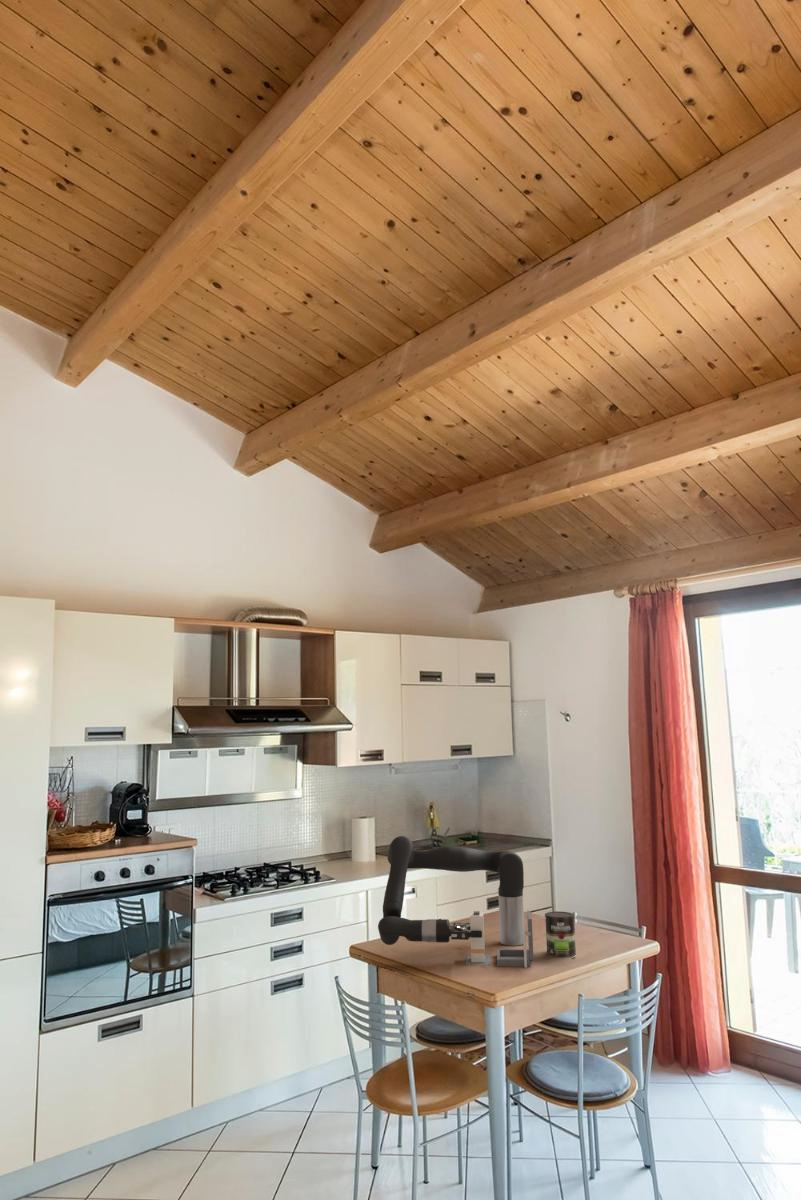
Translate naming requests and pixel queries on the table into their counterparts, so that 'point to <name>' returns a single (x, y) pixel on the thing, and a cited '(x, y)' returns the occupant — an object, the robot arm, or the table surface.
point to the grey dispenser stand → (518, 950)
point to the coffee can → (560, 934)
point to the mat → (487, 962)
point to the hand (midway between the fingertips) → (482, 931)
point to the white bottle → (477, 943)
